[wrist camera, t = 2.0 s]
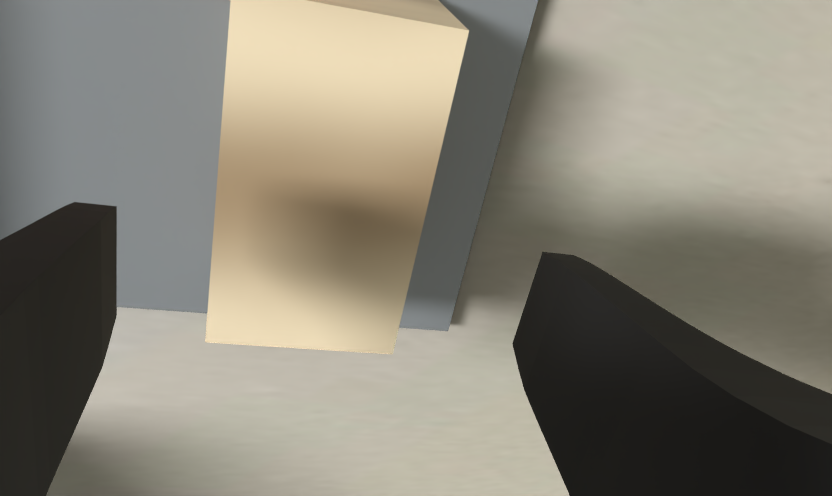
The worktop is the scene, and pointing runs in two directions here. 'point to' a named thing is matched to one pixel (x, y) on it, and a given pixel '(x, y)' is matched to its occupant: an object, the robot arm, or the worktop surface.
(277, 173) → the maple bar
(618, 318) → the robot arm
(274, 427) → the worktop surface
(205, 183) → the board
